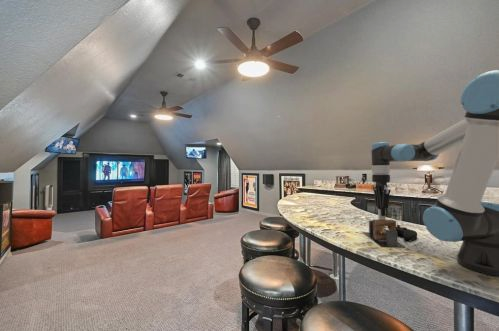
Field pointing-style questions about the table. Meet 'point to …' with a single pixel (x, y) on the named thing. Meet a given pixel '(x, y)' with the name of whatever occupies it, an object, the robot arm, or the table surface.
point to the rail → (390, 236)
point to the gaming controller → (406, 233)
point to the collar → (377, 228)
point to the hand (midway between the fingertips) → (382, 222)
